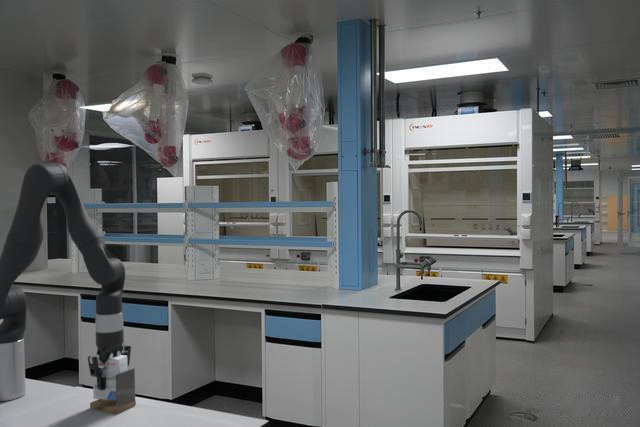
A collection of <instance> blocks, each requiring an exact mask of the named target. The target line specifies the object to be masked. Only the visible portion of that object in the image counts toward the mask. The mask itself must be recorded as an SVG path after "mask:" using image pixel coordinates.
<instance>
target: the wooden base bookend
mask: <svg viewBox="0 0 640 427" xmlns="http://www.w3.org/2000/svg"><path fill="white" fill-rule="evenodd" d="M135 375H136V372H135V367H132V368H129V369H128V370H127V371H124V372H122V373H119V374H116V400H108V399H95V400H94V401H91V402H89V408H90V409H91V410H97V411H102V412H106V413H110V414H114V415H118V414H121V413H123V412H125V411H127V410H130V409H131V408H134V407H136V406H137V400H136V377H135ZM135 405H136V406H135Z"/></svg>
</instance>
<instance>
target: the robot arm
mask: <svg viewBox="0 0 640 427" xmlns="http://www.w3.org/2000/svg"><path fill="white" fill-rule="evenodd" d="M52 195H53V196H55V197H56V199H57V200H58V201H59V203H60V204H61V206H62V207H63V209H64V213H65V218H66V225H67V226H66V227H67V229H68V234H69V236H70V238H71V240H72V241H73V243H74V244H75V246H76V248H77V249H78V251H79V252H80V254H82V255H81V256H82V257H83V262H84V264H85V267H86V270H87V272H88V275H89V276H90V278H91V279H92V280H93V281H94V282H95V283H96V284H97V285H99V286H100V285H101V286H100V287H101V288H100V291H99V293H98V294H97V295H96V297H95V320H94V322H95V323H94V324H95V345H96V347H97V350H96V354H94V355H93V356H92V355H89V356H88V357H87V363H88V370H89V376H91V377H93V376H94V377H97V388H98V389H99V390H102V391H103V390H105V389H106V379H105V374H106V371H107V369H108V368H109V359H111V358H113V357H115V356H117V357H118V356H121V355H126V356H127V367H130V360H131V351H132V350H131V349H132V346H131V345H126V344H124V342H125V340H124V336H125V334H124V316H123V298H122V297H123V292H124V288H125V280H126V268H125V265H124V263H123V262H122V261H121V260H120V259H119V258H118V257H117V258H116V257H110V258H109V257H108V256H107V254H106V251H105V249H106V247H107V244H106V242H105V240H104V238H103V237H102V235H101V234H100V232H99V230H98V229H97V228H96V225H94V223H93V221H92V220H91V218H90V216H89V214H88V212H87V210H86V208H85V205H84V203H83V200H82V199H81V196H80V194H79V191H78V189H77V187H76V185H75V182H74V180H73V178H72V175H71V173H70V172H69V170H68V169H67V167H66V166H64V165H63V164H62V163H58V162H43V163H41V162H39V163H35V164H32V165H31V166H29V167H28V168H27V170H26V171H25V174H24V176H23V180H22V184H21V189H20V194H19V198H18V202H17V206H16V210H15V213H14V216H13V219H12V222H11V226H10V227H9V230H8V233H7V235H6V239H5V242H4V244H3V248H2V251H1V253H0V320H2V321H1V323H0V402H4V401H5V402H7V401H11V400H16V399H19V398H21V397H23V396H24V395H26V364H25V361H26V360H25V359H26V358H25V357H26V356H25V332H26V329H27V328H26V327H27V307H28V306H27V305H28V304H27V297H26V294H25V292H24V289H22V288H21V287H20V286H16V285H14V283H15V281H16V280H17V279H18V278H19V277H20V276H21V275H22V274H23V273H24V272H25V271H26V270H27V268H29V267H30V266H31V265H32V263H34V261H35V259H36V258H37V256H38V254H39V251H40V249H41V247H42V244H43V241H44V229H43V228H44V227H43V224H42V223H43V222H42V219H41V216H42V210H43V208H44V204H45V203H46V200H47V198H48V197H49V196H52ZM98 359H99V360H100V361H101V362H102V363H104V364H105V365H104V366H101V365H100V363H99V360H98ZM101 368H102V372H101Z"/></svg>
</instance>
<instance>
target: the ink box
mask: <svg viewBox="0 0 640 427" xmlns="http://www.w3.org/2000/svg"><path fill="white" fill-rule="evenodd" d="M98 360H99V359H98ZM99 363H100V365H101V366H104V365H105V364H104V363H102V362H101V361H100V360H99ZM128 367H129V366H128ZM128 367H127V356H126V355H121V356H118V357H117V356H115V357H113V358H111V359H109V368H108V369H107V371H106V374H105V379H106V389H105V390H103V391H102V390H99V389H98V388H97V377H94V376H92V388H93V389H92V390H93V391H92V393H93V397H92V398H93V399H94V400H98V399H108V400H116V374H119V373H122V372H124V371H127V370H129V368H128ZM101 372H102V368H101Z"/></svg>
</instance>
